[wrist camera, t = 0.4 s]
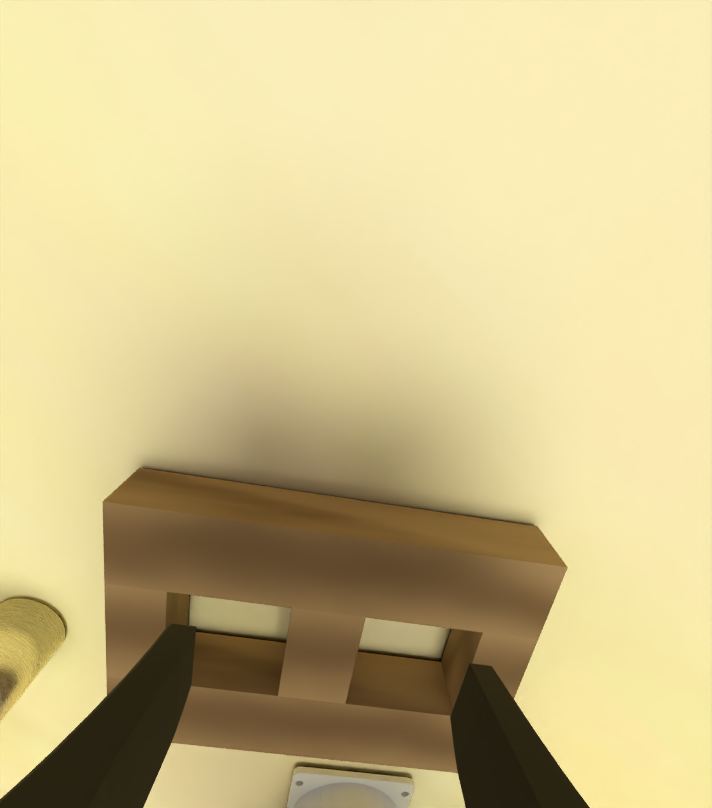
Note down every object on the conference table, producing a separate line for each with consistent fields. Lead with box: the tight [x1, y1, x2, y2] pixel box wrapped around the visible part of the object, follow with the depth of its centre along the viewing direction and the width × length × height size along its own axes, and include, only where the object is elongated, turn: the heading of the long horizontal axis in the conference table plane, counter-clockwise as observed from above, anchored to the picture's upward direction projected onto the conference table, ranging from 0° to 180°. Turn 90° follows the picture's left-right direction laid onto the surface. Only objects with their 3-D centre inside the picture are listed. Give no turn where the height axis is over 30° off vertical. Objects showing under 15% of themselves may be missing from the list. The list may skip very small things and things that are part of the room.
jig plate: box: [103, 468, 568, 773], centre depth 21 cm, size 14×20×3 cm
